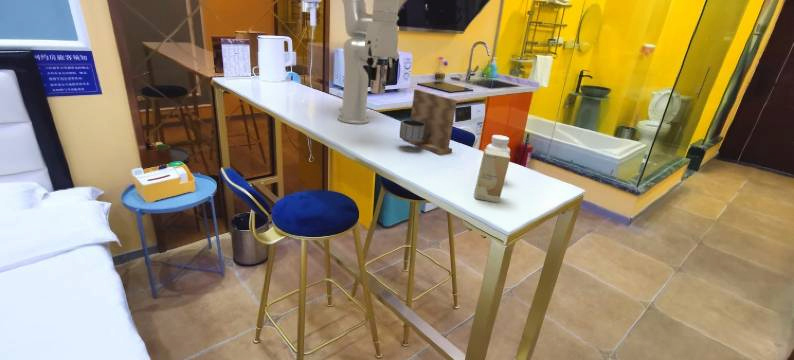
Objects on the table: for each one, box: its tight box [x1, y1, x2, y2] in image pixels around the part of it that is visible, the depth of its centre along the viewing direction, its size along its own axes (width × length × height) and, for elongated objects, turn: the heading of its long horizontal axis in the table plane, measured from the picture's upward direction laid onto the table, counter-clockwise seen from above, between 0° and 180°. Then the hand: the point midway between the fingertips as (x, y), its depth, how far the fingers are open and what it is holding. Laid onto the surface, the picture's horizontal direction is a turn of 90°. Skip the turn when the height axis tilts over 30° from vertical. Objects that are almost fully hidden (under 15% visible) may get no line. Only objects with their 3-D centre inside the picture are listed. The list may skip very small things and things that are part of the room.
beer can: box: [369, 57, 388, 95], centre depth 122 cm, size 5×5×12 cm
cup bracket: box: [399, 88, 458, 156], centre depth 128 cm, size 18×15×18 cm
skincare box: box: [473, 148, 511, 203], centre depth 96 cm, size 6×4×12 cm
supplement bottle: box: [485, 134, 511, 156], centre depth 108 cm, size 7×7×13 cm
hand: (378, 79), depth 123 cm, fingers closed on beer can, 4 cm apart
